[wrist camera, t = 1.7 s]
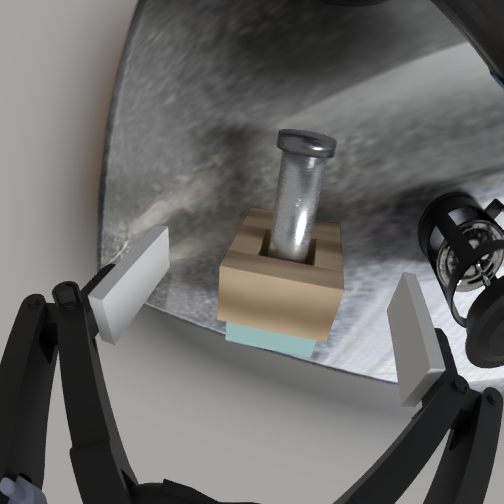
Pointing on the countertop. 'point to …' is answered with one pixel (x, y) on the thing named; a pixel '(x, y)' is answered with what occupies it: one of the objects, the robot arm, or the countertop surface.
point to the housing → (281, 281)
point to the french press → (470, 270)
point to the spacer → (269, 340)
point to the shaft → (298, 192)
